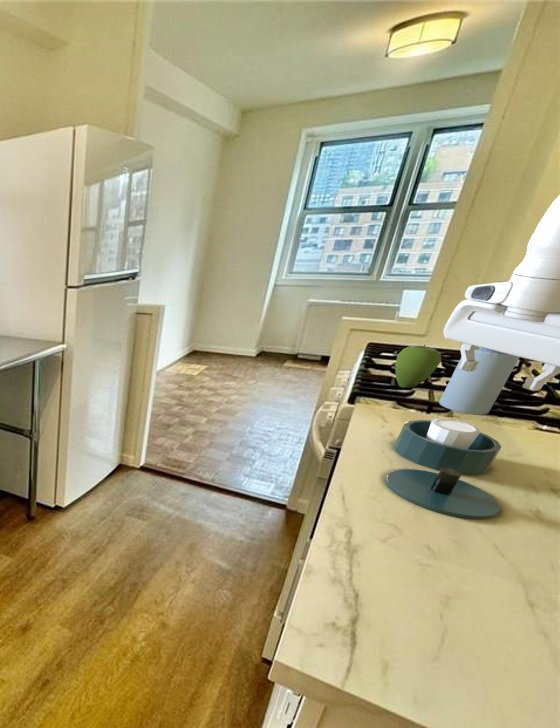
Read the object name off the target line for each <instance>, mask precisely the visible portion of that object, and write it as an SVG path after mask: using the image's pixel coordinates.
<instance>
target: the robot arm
mask: <svg viewBox="0 0 560 728" xmlns="http://www.w3.org/2000/svg"><path fill="white" fill-rule="evenodd" d="M526 250H527V251H526V255H525V257H524V258H523V260H522V262H521V263H520V264H519V265H518V266H517V267H516V268H515V269H514V271H513V273H512V275H511V277H510V279H509V280H502V281H496V282H491V283H483V284H475V285H470V286H468V288H466V290H465V293H464V298H465V299H464V300H462V301H461V302H459V303H458V304H457V305H456V307H455V308H454V309H453V311H452V313H451V314H450V316H449V318H448V320H447V322H446V323H445V325H444V328H443V331H442V332H443V336H444V338H445V339H446V340H449V341H453V342H458V343H462V344H461V346H460V356H461V357H462V360H463V361H462V363H461V365H460V367H459V369H461V370H464V371H468V372H470V371H475V370H476V368H477V367H476V366H477V365H478V364H479V361H476V360H475V354H474V350H478V349H479V347H482V348H486V349H490V350H494V351H498V352H502V353H506V354H510V355H514V356H518V357H520V358H523V359H527V360H531V361H534V362H540V363H543V366H542V367H541V370H542V371H544V372H542V373H541V374H539V375H537V376H530V377H529V376H528V377H526V379H525V380H524V383H523V384H522V388H523V389H526V390H530V391H533V392H535V391H536V392H537V391H540V390H541V389H542V388H543V386H544V385H545V383H546V382H547V381H548V380H550V379H552V378H554V377H555V376H557V375H559V374H560V194H559V195H558V196H557V197H556V199H554V201H553V202H552V203H551V205H550V206H549V208H548V209H547V210H546V212H545V214H544V215H543V217H542V218H541V220H540V221H539V223H538V225H537V227H536V229H535V231H534V233H533V234H532V236H531V238H530V240H529V242H528V244H527V249H526Z"/></svg>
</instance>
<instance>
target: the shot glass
mask: <svg viewBox="0 0 560 728" xmlns="http://www.w3.org/2000/svg"><path fill="white" fill-rule="evenodd" d="M431 421H432V422H431V425H430V428H429V430H428V433H427V436H426V439H428V440H430V441H434V442H437V443H440V444H444V445H447V446H452V447H457V448H462V449H468V448H469V447H470V446H471V444H472V443H473V441H474V440H475V439H476V437H477V436H478V435H479V433H480V432H481V430H480V429H479V428H478V427H476V426H475V425H472V424H469V423H466V422H464V421H461V420H456V419H449V418H434V419H432V420H431Z"/></svg>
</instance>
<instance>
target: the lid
mask: <svg viewBox="0 0 560 728" xmlns="http://www.w3.org/2000/svg"><path fill="white" fill-rule="evenodd" d="M461 477H462V475H461V473H460V472H458V471H456V470H453V469H449V468H442V469H441V470H440V471H438V473H437V472H433V471H428V470H421V469H412V468H411V469H410V468H409V469H407V468H406V469H405V468H402V469H395V470H392V471H390V472H388V474H387V475H386V477H385V483H386V485H387V487H388V488H389V489H390V490H391V491H392V492H393V493H395V494H396V495H397V496H400V497H401V498H402V499H404V500H406V501H408V502H410V503H413V504H415V505H416V506H419V507H422V508H425V509H427V510H430V511H433V512H435V513H439V514H443V515H447V516H451V517H457V518H461V519H463V518H464V519H469V520H470V519H472V520H486V519H491V518H494V517H496V516H497V515H498V514H499V512H500V511H501V506H500V503H499V502H498V501H497V499H496V498H495V497H493V496H492V495H491V494H489V493H488V492H486V491H484V490H482V489H481V488H479V487H478V486H475V485H473V484H472V483H471V484H470V483H468V482H466V481H463V480H461V479H460V478H461Z"/></svg>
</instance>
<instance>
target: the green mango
mask: <svg viewBox="0 0 560 728" xmlns="http://www.w3.org/2000/svg"><path fill="white" fill-rule="evenodd" d="M441 362H442V354H441V353H440V352H439V351H438V349H435V348H433V347H430V346H426V344H424V345H409V346H407V347H405V348H403V349H402V350H401V351H400V352H399V353H398V354H397V357H396V360H395V363H394V368H395V369H394V370H395V379H396V381H397V385H398V386H399V387H400V388H403V389H404V388H405V389H411V388H414V387H416V386H418V385H420V384H422V383H423V382H425V381H426V380H427V379H428V378H429V377H431V375H432V374H433V373H434V372H435V371H436V369H437V368H438V366H440V364H441Z"/></svg>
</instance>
